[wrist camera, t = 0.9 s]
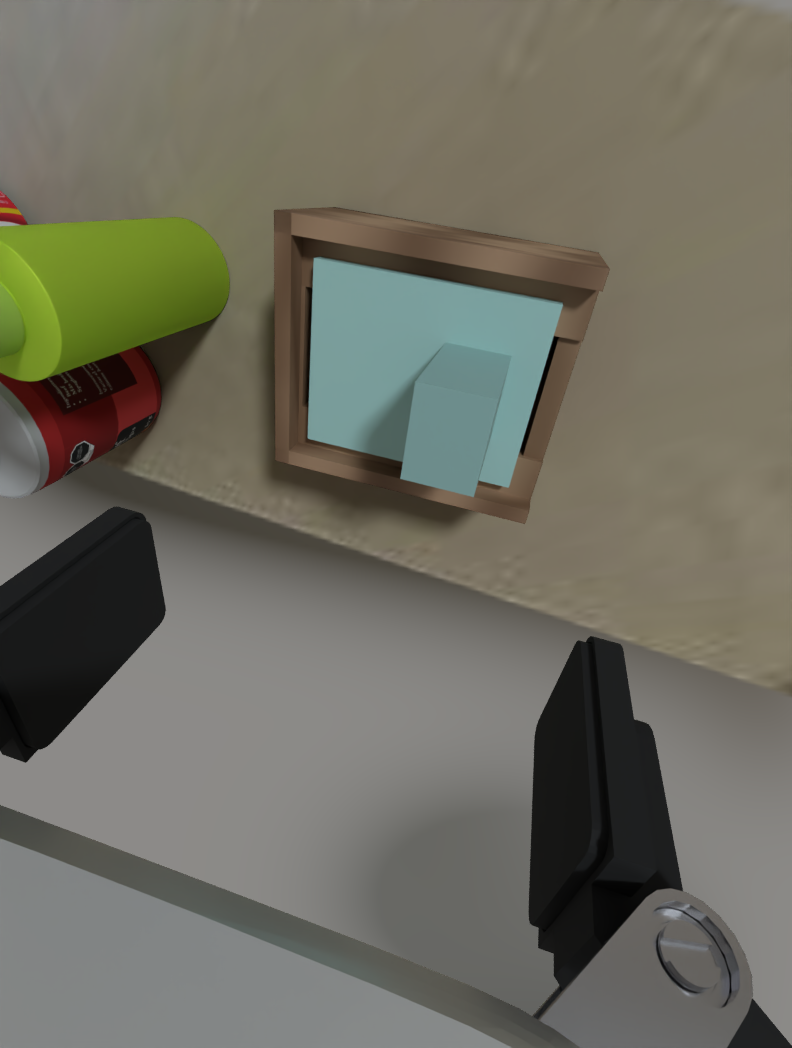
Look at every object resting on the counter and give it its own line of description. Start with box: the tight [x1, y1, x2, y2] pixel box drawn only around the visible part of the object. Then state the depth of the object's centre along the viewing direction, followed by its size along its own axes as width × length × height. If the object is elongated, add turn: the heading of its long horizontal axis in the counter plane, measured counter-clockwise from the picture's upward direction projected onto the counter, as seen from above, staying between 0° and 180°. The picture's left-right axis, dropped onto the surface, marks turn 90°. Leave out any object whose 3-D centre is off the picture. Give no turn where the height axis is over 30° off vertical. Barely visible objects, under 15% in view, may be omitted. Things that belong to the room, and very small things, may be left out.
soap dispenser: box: [0, 217, 229, 381], centre depth 23 cm, size 6×7×20 cm
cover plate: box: [308, 256, 563, 497], centre depth 22 cm, size 11×9×7 cm
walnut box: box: [274, 207, 610, 524], centre depth 27 cm, size 14×12×7 cm
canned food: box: [0, 346, 161, 498], centre depth 33 cm, size 8×8×11 cm
